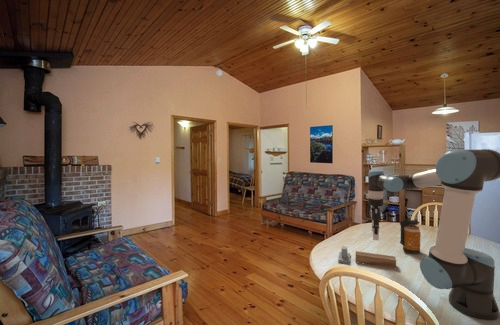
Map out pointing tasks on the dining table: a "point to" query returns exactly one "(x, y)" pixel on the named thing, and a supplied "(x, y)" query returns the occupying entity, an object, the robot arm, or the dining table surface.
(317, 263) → the dining table surface
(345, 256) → the fulcrum
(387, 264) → the walnut bar
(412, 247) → the canister
